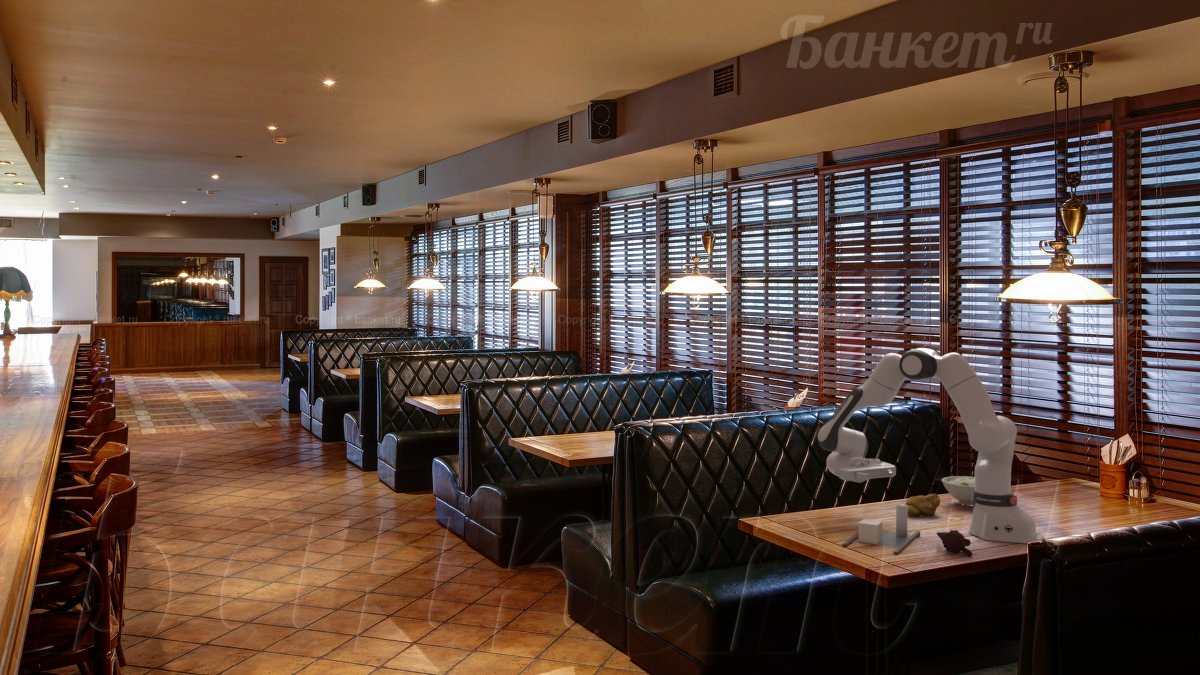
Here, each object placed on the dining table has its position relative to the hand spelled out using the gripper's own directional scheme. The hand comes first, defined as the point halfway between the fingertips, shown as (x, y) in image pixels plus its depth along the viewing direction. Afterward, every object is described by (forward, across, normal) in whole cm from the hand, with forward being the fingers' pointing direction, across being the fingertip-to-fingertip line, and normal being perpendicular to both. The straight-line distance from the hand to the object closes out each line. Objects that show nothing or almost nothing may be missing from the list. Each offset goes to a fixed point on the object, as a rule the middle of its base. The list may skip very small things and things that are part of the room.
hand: (879, 476), depth 309 cm
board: (+14, -8, +18) cm, 25 cm away
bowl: (-20, +51, +19) cm, 58 cm away
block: (+15, -14, +17) cm, 27 cm away
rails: (+16, -10, +18) cm, 26 cm away
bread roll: (-13, +24, +19) cm, 33 cm away
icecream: (+30, +6, +19) cm, 36 cm away
